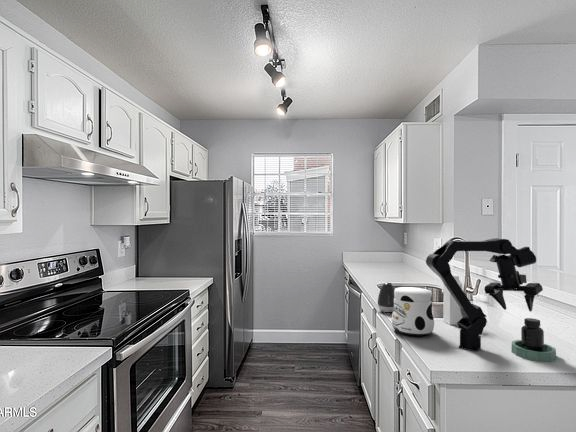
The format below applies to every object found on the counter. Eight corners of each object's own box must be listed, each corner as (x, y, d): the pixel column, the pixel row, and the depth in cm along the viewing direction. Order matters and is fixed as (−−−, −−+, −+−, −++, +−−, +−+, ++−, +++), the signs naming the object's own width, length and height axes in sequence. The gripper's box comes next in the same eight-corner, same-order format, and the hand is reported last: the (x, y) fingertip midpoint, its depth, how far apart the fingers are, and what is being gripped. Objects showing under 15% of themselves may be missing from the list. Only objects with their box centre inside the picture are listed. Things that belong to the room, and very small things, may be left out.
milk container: (384, 332, 157) (384, 290, 157) (402, 324, 169) (402, 285, 170) (424, 341, 145) (424, 296, 145) (440, 332, 158) (440, 290, 158)
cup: (510, 355, 131) (510, 347, 131) (513, 345, 142) (513, 337, 142) (556, 364, 123) (556, 355, 123) (555, 353, 134) (555, 344, 134)
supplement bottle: (531, 348, 137) (531, 316, 137) (548, 355, 130) (548, 321, 130) (516, 350, 135) (516, 317, 135) (533, 357, 129) (533, 322, 129)
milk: (462, 324, 169) (462, 277, 169) (449, 325, 169) (450, 277, 169) (454, 321, 176) (455, 275, 176) (442, 321, 175) (443, 275, 175)
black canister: (400, 310, 194) (400, 282, 194) (394, 315, 185) (394, 285, 185) (381, 308, 199) (381, 280, 200) (374, 312, 191) (375, 283, 191)
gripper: (543, 263, 136) (554, 304, 136) (493, 265, 152) (502, 301, 152) (530, 272, 130) (541, 315, 130) (479, 273, 145) (489, 311, 145)
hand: (517, 310), depth 139 cm, fingers open, 9 cm apart
